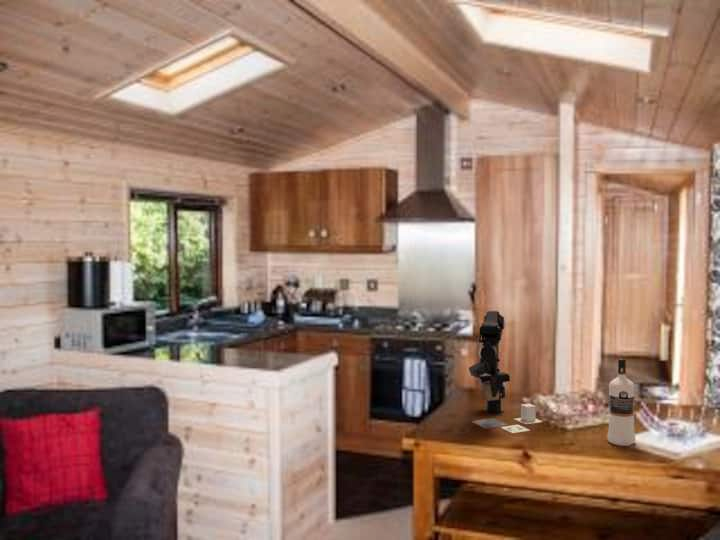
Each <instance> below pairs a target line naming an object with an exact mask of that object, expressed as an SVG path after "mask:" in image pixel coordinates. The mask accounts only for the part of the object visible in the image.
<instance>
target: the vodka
mask: <svg viewBox="0 0 720 540" xmlns="http://www.w3.org/2000/svg"><path fill="white" fill-rule="evenodd" d="M626 360H627V359H626V358H622V357H621V358H618V359H617V365H618V366H617V376H616V377H615V378H613V379H612V380H611V381H610V382H609V383H608V389H609V390H608V391H609V392H608V394H609V413H608V419H609V420H608V421H609V422H608V432H607V435H606V438H607V441H608V442H609V443H610V444H613V445H615V446H618V447H619V446H620V447H621V446H622V447H630V446H632V445H631V444H633V443H634V441H635V442H636V435H635V424H634V422H635V412H634V411H635V409H634V408H635V389H636V388H635V387H636V386H635V384H634V382H633V381H632V380H630V379H629V378H627V375H626V374H627V361H626ZM634 444H635V443H634ZM634 444H633V445H634ZM629 445H630V446H629Z"/></svg>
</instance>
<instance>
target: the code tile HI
mask: <svg viewBox="0 0 720 540" xmlns="http://www.w3.org/2000/svg"><path fill="white" fill-rule="evenodd" d="M514 420H515V421H517V422H520V423H522V424H523V425H524V424H525V425H530V424H536V423H537V424H538V423H543V422H542V420H540V419H538V418H536V421H532V422H526V421H523V420H521V417H518V418H514Z"/></svg>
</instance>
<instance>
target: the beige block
mask: <svg viewBox="0 0 720 540" xmlns="http://www.w3.org/2000/svg"><path fill="white" fill-rule="evenodd" d="M536 415H537V414H536V405H534V404H531V403H522V404H520V418H521V420H523V421H526V422H532V421H536V419H537V417H536Z"/></svg>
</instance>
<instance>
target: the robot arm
mask: <svg viewBox="0 0 720 540" xmlns="http://www.w3.org/2000/svg"><path fill="white" fill-rule="evenodd" d="M505 325H506V324H505V317H504V316H503V315H501V314H500V311H498V310H488V311H486V315H484V316H483V322H482V323H481V325H480V326H479V333H478V335H479V336H478V343H479V344H480V343H481V344H482V345H481V346H482V347H481V349H480V352H479V355H480V359H479V362H478V363H475V364H472V365H471V366H469V367H468V370H469V372H470V376H471V377H474V378H477V379H479V381H480V384H481V383H482V382H490V383H491V387H492V396H493V397H496V395H497V393H498V391H499V399H497V400H490V401H487V400H485V408H482V410H483V412H486V413H488V414H491V415H494V414H501V413H504V412H505V411H504V410H503V409H502V399H503V400H504V398H506V387H505V386H504V383H508V382H511V375H510V374H509V373H508V372H507V373H506V372H503V371H502V372H500V371H501V369H500V368H499V362H500V361H501V360H500V358H499V352H500V351H499V349H500V347H499V346H500V341H502V336H503V334H504V331H503V330H505Z"/></svg>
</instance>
